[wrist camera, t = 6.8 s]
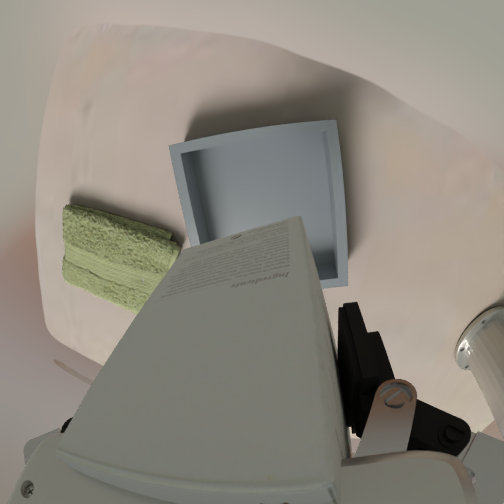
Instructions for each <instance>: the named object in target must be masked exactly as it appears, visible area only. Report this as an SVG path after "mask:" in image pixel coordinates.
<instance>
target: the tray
mask: <svg viewBox="0 0 504 504" xmlns="http://www.w3.org/2000/svg"><path fill="white" fill-rule="evenodd" d="M169 150H170V155H171V160H172V165H173V170H174V175H175V179H176V184H177V189H178V193H179V198H180V202H181V207H182V211H183V215H184V220H185V224H186V228H187V232H188V236H189V240H190V244H191V247H193V246H196V245H200V244H203V243H206V242H210V241H213V240H216V239H220V238H223V237H226V236H229V235H233V234H236V233H240V232H243V231H247V230H250V229H253V228H257V227H260V226H264V225H267V224H271V223H274V222H278V221H281V220H285V219H288V218H292V217H295V216H301V217H302V220H303V224H304V227H305V230H306V234H307V237H308V241H309V244H310V248H311V251H312V254H313V258H314V262H315V265H316V269H317V272H318V276H319V280H320V284H321V288H322V289H323V288H333V287H343V286H348V251H347V226H346V208H345V194H344V182H343V171H342V161H341V152H340V144H339V136H338V128H337V121H336V119H334V120H321V121H309V122H299V123H290V124H282V125H274V126H267V127H260V128H253V129H247V130H241V131H235V132H230V133H224V134H219V135H214V136H209V137H204V138H199V139H195V140H190V141H186V142H182V143H177V144H173V145H169Z"/></svg>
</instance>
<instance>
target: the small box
mask: <svg viewBox="0 0 504 504" xmlns="http://www.w3.org/2000/svg"><path fill="white" fill-rule="evenodd" d="M55 454H56V456H57V457H58V458H59V459H60V460H62V461H63V462H65V463H66V464H67V465H68V466H70V467H71V468H73V469H75V470H77V471H79V472H81V473H83V474H86V475H88V476H90V477H93V478H95V479H98V480H100V481H103V482H105V483H108V484H111V485H114V486H116V487H119V488H122V489H125V490H128V491H132V492H135V493H138V494H142V495H145V496H149V497H153V498H157V499H161V500H165V501H169V502H174V503H178V504H334V503H340V500H341V461H342V459H346V458H352V449H351V440H350V432H349V427H347V423H346V415H345V407H344V400H343V393H342V386H341V379H340V373H339V366H338V359H337V348H336V344H335V339H334V335H333V331H332V327H331V323H330V319H329V315H328V311H327V307H326V303H325V299H324V296H323V292H322V288H321V284H320V280H319V276H318V272H317V269H316V265H315V262H314V258H313V254H312V251H311V248H310V244H309V241H308V237H307V234H306V230H305V227H304V224H303V220H302V217H301V216H295V217H292V218H288V219H285V220H281V221H278V222H274V223H271V224H267V225H264V226H260V227H257V228H253V229H250V230H247V231H243V232H240V233H236V234H233V235H229V236H226V237H223V238H220V239H216V240H213V241H210V242H206V243H203V244H200V245H196V246H193V247H190V248H187V249H184V250H183V251H182V253H181V254H180V255H179V257H178V258H177V259H176V261H175V262H174V263H173V265H172V266H171V268H170V269H169V270H168V272H167V273H166V274H165V276H164V277H163V279H162V280H161V281H160V283H159V284H158V286H157V287H156V288H155V290H154V291H153V293H152V294H151V296H150V297H149V298H148V300H147V301H146V303H145V304H144V306H143V307H142V309H141V310H140V312H139V313H138V314H137V316H136V317H135V319H134V320H133V322H132V323H131V325H130V326H129V328H128V329H127V331H126V332H125V334H124V336H123V337H122V339H121V340H120V341H119V343H118V345H117V346H116V348H115V349H114V351H113V352H112V354H111V355H110V357H109V358H108V360H107V362H106V363H105V365H104V366H103V368H102V369H101V371H100V372H99V374H98V376H97V377H96V379H95V380H94V382H93V383H92V385H91V387H90V389H89V390H88V392H87V394H86V396H85V397H84V399H83V401H82V402H81V404H80V406H79V408H78V409H77V411H76V413H75V415H74V416H73V418H72V420H71V422H70V423H69V425H68V427H67V429H66V430H65V432H64V434H63V436H62V438H61V440H60V442H59V444H58V446H57V448H56V450H55Z"/></svg>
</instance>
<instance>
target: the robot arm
mask: <svg viewBox="0 0 504 504" xmlns="http://www.w3.org/2000/svg"><path fill="white" fill-rule="evenodd" d="M337 359H338V366H339V373H340V379H341V386H342V393H343V400H344V407H345V415H346V423H347V427H351V428H352V434H354V433H356V436H357V437H359V438H361V441H360V443H359V446H358V449H357V451H356V454H355V456H354V458H346V459H342V461H341V500H340V503H334V504H504V442H503V441H501V440H498V439H496V438H493V437H491V436H488V435H486V434H484V433H481V432H479V431H478V432H477V433H473V432H471V430H470V427H469V425H468V424H467V423H466V422H465V421H464V420H462V419H460V418H458V417H456V416H453V415H451V414H449V413H446V412H444V411H442V410H440V409H438V408H435V407H433V406H431V405H429V404H427V403H424V402H422V401H420V400H418V399H417V392H416V389H415V387H414V386H413V385H412V384H411V383H409V382H408V381H406V380H402V379H395V377H394V374H393V371H392V368H391V365H390V362H389V359H388V356H387V353H386V350H385V347H384V344H383V342H382V339H381V336H380V334H379V332H378V331H376V332H369V333H367V330H366V327H365V324H364V321H363V318H362V315H361V312H360V309H359V306H358V303H357V302H352V303H344V304H343V307H339V310H338V352H337ZM455 360H456V363H457V364H458V366H459V367H460V368H461V369H464V370H471V371H472V373H473V375H474V377H475V379H476V381H477V383H478V385H479V387H480V389H481V391H482V393H483V395H484V397H485V399H486V401H487V403H488V405H489V408H490V410H491V412H492V414H493V417H494V419H495V421H496V424H497V426H498V428H499V431H500V433H501V435H502V437H503V438H504V307H503V306H498V307H495V308H492V309H490V310H488V311H486V312H484V313H483V314H481V315H480V316H479V317H478V318H476V319H475V320H474V321H473V322H472V323H471V324H470V325H469V327H468V328H467V329H466V330H465V332H464V333H463V335H462V336H461V338H460V340H459V342H458V344H457V347H456V350H455ZM72 418H73V417H72ZM72 418H70V419H68V420H67V421H66V422H65V423H64V425H63V426H62V430H60V429H59V428H58V429H56V430H53V431H51V432H48V433H46V434H43V435H41V436H39V437H36V438H34V439H31V440H30V441H28V442H27V443H26V445H25V447H24V458H25V464H26V466H25V467H24V469H23V471H22V473H21V475H20V477H19V479H18V481H17V483H16V485H15V488H14V490H13V492H12V494H11V496H10V498H9V500H8V503H7V504H178V503H174V502H169V501H165V500H161V499H157V498H153V497H149V496H145V495H142V494H138V493H135V492H132V491H128V490H125V489H122V488H119V487H116V486H114V485H111V484H108V483H105V482H103V481H100V480H98V479H95V478H93V477H90V476H88V475H86V474H83V473H81V472H79V471H77V470H75V469H73V468H71V467H70V466H68V465H67V464H66V463H65V462H63V461H62V460H60V459H59V458H58V457H57V456H56V454H55V450H56V448H57V446H58V444H59V442H60V440H61V438H62V436H63V434H64V432H65V430H66V429H67V427H68V425H69V423H70V422H71V420H72Z"/></svg>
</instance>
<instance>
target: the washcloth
mask: <svg viewBox="0 0 504 504" xmlns="http://www.w3.org/2000/svg"><path fill="white" fill-rule="evenodd" d="M172 235H173V234H172V233H171V232H168V231H167V230H164V229H160V228H156V227H154V226H149V225H146V224H144V223H141V222H136V221H132V220H130V219H128V218H124V217H120V216H117V215H112V214H109V213H108V212H105V213H104V212H103V211H100V210H98V209H96V210H94V209H93V208H92V209H91V208H88V207H82V206H80V205H67V204H66V206H65V208H63V240H64V241H65V256H64V257H63V267H62V270H63V277H64V280H65V282H66V283H68V284H70V285H72V286H75V287H77V288H81V289H84V290H85V291H88V292H90V293H91V294H93V295H94V296H96V297H99V298H102V299H104V300H106V301H109V302H111V303H114V304H116V305H118V306H121V307H122V308H124V309H127V310H129V311H131V312H133V313H135V314H138V313H139V312H140V310H141V309H142V307H143V306H144V304H145V303H146V301H147V300H148V298H149V297H150V296H151V294H152V293H153V291H154V290H155V288H156V287H157V286H158V284H159V283H160V281H161V280H162V279H163V277H164V276H165V274H166V273H167V272H168V270H169V269H170V268H171V266H172V265H173V263H174V262H175V261H176V259H177V258H178V256H179V253H180V250H181V248H180V247H179V246H177V245H176V244H177V243H175V242H174V241H171V238H172Z"/></svg>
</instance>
